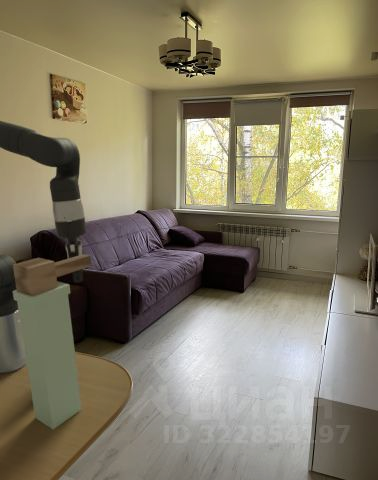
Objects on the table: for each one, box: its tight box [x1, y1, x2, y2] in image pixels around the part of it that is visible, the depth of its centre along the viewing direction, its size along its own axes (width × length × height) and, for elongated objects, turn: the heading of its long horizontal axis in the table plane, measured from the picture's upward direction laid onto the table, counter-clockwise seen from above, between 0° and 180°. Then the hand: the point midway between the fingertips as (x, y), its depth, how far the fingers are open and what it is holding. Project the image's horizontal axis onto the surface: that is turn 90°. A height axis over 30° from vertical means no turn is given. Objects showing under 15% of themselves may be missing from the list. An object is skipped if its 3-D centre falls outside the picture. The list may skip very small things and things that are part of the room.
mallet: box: [13, 253, 92, 296], centre depth 84 cm, size 6×17×6 cm, turn 144°
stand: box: [13, 280, 83, 430], centre depth 85 cm, size 8×9×32 cm
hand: (78, 276), depth 99 cm, fingers open, 8 cm apart
